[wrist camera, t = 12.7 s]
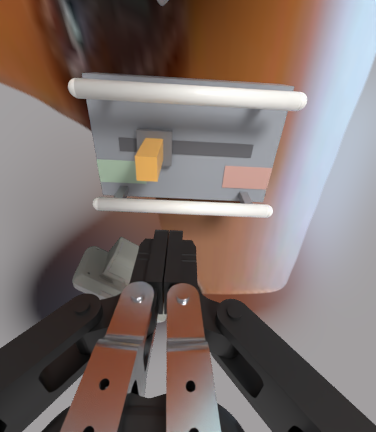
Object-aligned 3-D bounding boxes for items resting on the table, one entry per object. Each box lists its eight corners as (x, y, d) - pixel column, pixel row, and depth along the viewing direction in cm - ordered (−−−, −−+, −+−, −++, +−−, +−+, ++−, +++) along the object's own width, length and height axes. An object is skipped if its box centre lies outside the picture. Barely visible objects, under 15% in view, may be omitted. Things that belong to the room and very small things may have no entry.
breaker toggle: (137, 128, 26) (122, 146, 20) (172, 130, 26) (168, 149, 20) (139, 162, 28) (126, 187, 22) (171, 163, 28) (167, 189, 22)
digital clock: (82, 246, 41) (53, 295, 32) (114, 219, 38) (92, 266, 29) (146, 290, 48) (137, 341, 39) (178, 271, 45) (176, 321, 36)
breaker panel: (95, 72, 26) (59, 74, 19) (281, 84, 27) (316, 90, 20) (111, 182, 34) (90, 214, 27) (255, 189, 35) (273, 222, 27)
